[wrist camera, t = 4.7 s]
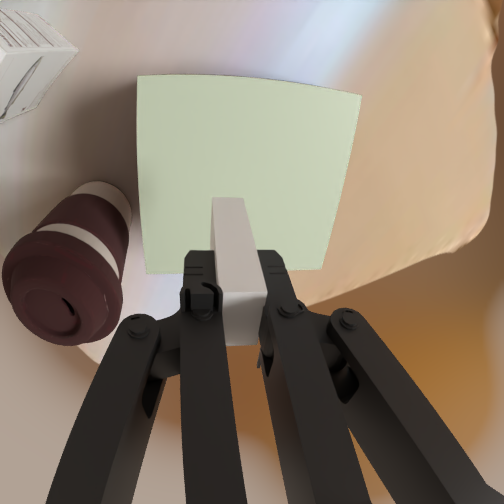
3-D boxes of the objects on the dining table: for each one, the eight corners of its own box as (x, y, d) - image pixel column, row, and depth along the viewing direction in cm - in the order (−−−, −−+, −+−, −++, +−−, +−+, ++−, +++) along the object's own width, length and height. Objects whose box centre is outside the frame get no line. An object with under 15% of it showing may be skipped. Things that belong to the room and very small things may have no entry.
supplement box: (36, 109, 22) (-43, 151, 12) (-3, 70, 18) (-88, 95, 8) (83, 50, 20) (7, 53, 10) (39, 11, 16) (-43, 3, 6)
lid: (139, 75, 16) (137, 75, 15) (356, 94, 19) (362, 95, 18) (147, 267, 24) (146, 274, 23) (317, 263, 27) (321, 269, 26)
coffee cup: (54, 235, 30) (0, 334, 18) (68, 155, 25) (-13, 236, 13) (131, 261, 34) (107, 372, 22) (157, 185, 29) (129, 286, 17)
